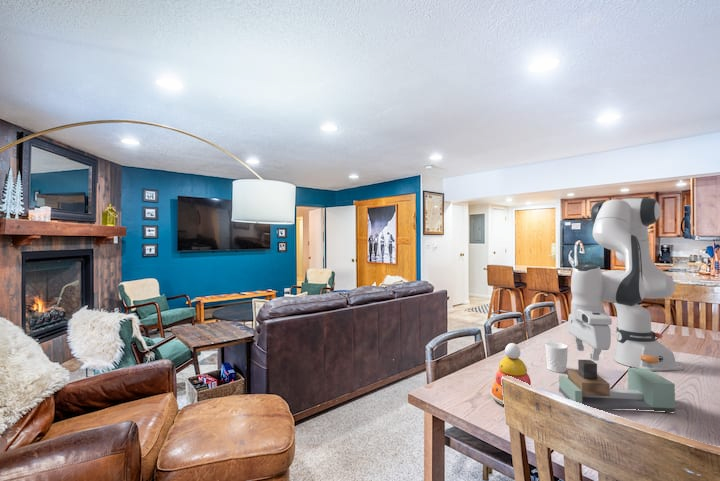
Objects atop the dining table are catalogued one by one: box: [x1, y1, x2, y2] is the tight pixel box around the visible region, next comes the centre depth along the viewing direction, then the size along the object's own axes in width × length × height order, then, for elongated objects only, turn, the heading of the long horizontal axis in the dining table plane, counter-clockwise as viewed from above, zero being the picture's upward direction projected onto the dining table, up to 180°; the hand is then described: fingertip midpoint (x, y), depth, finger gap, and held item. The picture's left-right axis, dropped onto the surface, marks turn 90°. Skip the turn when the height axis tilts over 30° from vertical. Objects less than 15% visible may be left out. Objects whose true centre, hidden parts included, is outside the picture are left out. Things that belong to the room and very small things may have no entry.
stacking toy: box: [489, 342, 532, 406], centre depth 113 cm, size 14×14×20 cm
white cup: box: [544, 341, 569, 374], centre depth 137 cm, size 8×8×10 cm
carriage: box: [567, 359, 611, 396], centre depth 112 cm, size 8×10×9 cm
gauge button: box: [641, 355, 659, 368], centre depth 109 cm, size 4×4×3 cm
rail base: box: [558, 367, 676, 414], centre depth 111 cm, size 28×12×9 cm, turn 81°
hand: (587, 354), depth 112 cm, fingers open, 8 cm apart
